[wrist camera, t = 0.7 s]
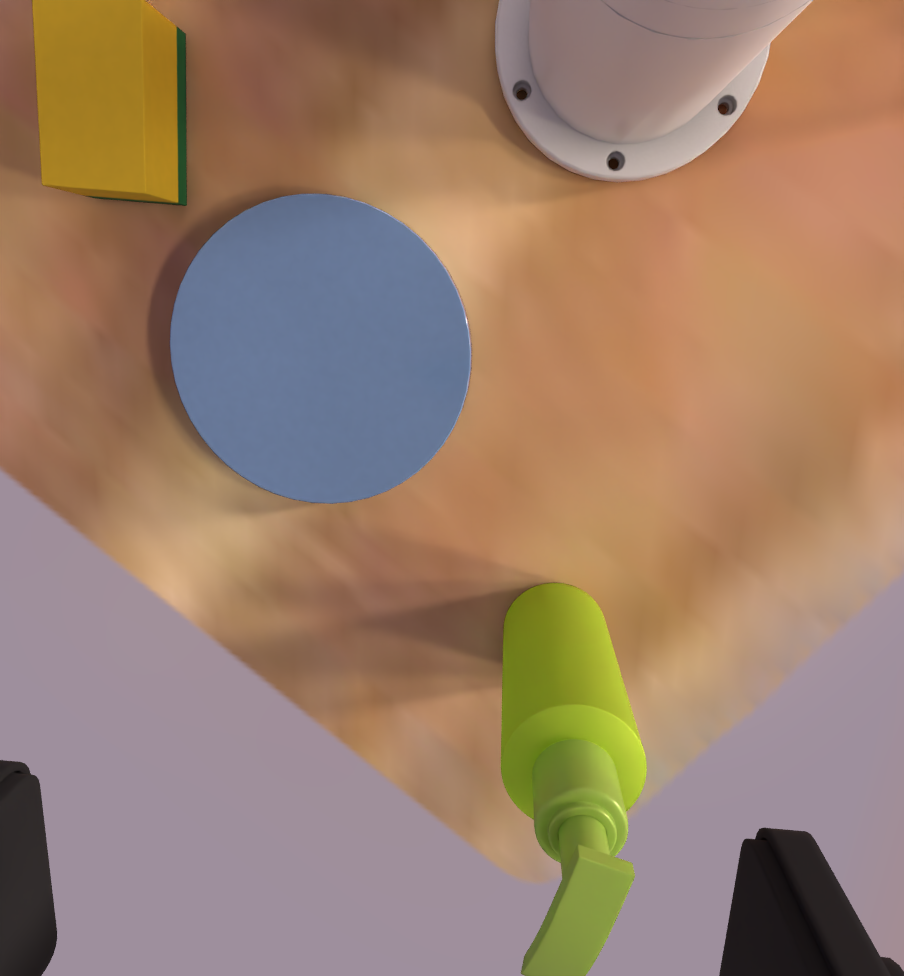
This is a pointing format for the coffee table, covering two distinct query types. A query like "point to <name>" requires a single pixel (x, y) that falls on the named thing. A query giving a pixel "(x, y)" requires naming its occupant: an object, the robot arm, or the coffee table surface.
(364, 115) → the coffee table surface
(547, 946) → the soap dispenser
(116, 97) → the sponge
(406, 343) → the plate
